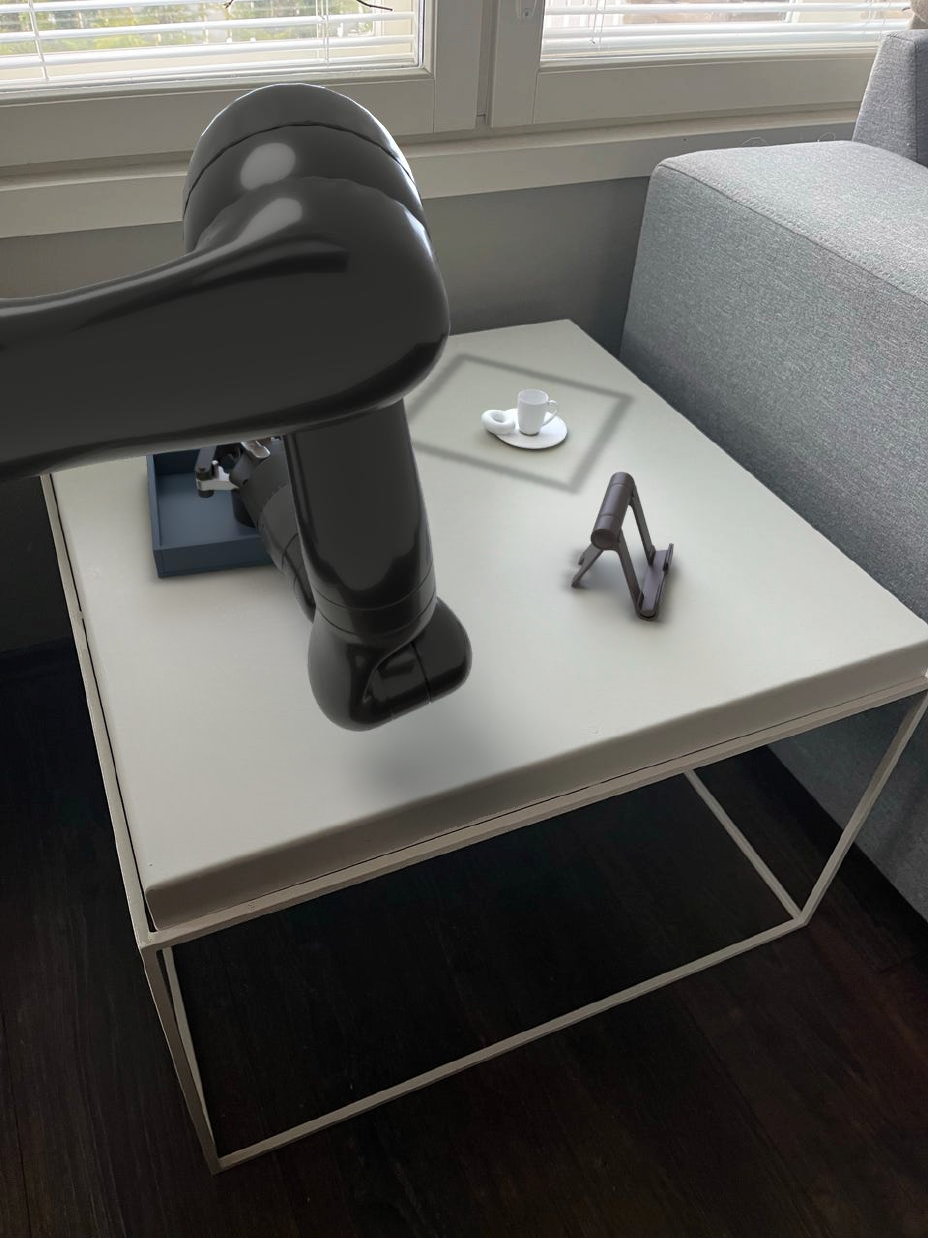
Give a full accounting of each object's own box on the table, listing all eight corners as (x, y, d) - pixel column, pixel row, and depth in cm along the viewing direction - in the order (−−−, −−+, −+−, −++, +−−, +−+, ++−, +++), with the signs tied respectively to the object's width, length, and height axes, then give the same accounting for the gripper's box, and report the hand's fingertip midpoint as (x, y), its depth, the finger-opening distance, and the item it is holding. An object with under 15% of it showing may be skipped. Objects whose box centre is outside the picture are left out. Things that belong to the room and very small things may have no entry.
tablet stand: (656, 625, 81) (676, 546, 76) (564, 603, 83) (578, 524, 77) (670, 562, 88) (690, 486, 82) (585, 543, 89) (599, 466, 83)
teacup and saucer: (472, 438, 101) (475, 403, 98) (500, 403, 107) (503, 369, 104) (552, 459, 99) (557, 424, 96) (576, 423, 104) (581, 389, 102)
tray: (158, 579, 82) (152, 550, 80) (151, 478, 93) (145, 450, 90) (381, 551, 86) (381, 523, 84) (350, 458, 97) (349, 431, 95)
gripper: (394, 461, 74) (319, 358, 85) (211, 499, 69) (156, 385, 80) (393, 539, 79) (322, 432, 90) (222, 580, 74) (170, 461, 85)
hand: (244, 410), depth 85 cm, fingers open, 3 cm apart
